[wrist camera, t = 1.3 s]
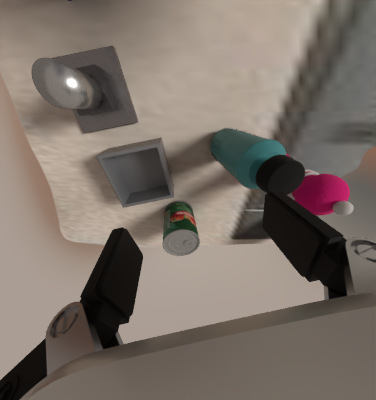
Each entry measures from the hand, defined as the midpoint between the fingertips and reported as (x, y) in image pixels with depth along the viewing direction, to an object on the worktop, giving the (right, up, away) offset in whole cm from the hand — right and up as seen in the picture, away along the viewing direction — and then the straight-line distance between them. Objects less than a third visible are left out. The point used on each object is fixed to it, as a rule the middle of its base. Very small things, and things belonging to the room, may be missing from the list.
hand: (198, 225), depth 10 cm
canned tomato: (-3, -2, +30) cm, 30 cm away
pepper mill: (+17, +11, +24) cm, 31 cm away
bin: (-11, +9, +22) cm, 26 cm away
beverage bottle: (+7, +14, +21) cm, 26 cm away
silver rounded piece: (-16, +19, +14) cm, 29 cm away
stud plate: (-16, +20, +15) cm, 29 cm away
